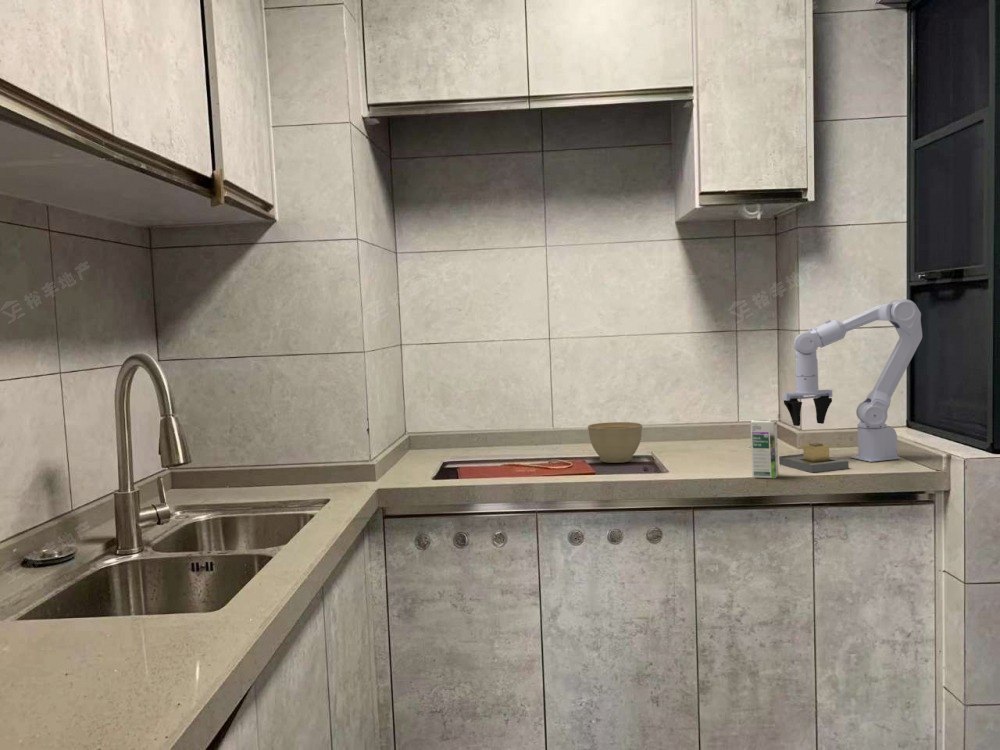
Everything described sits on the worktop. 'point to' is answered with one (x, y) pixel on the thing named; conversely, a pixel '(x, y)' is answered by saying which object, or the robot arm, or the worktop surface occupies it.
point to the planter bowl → (615, 440)
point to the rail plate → (799, 463)
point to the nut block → (816, 452)
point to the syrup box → (764, 448)
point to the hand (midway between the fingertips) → (808, 424)
